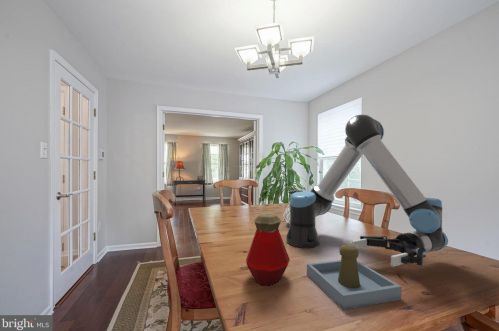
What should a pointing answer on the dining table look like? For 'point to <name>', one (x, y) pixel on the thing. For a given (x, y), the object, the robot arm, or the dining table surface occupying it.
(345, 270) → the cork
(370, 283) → the tray
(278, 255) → the bottle
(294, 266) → the dining table surface
